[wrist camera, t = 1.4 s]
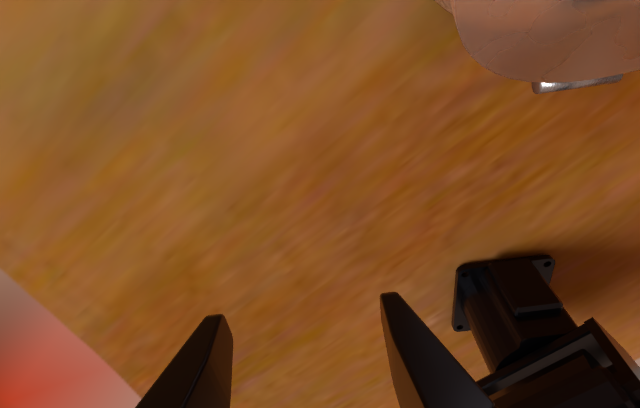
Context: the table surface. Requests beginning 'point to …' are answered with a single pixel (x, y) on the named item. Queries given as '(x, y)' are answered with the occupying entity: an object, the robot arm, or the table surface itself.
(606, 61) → the cooker lid
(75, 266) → the table surface
